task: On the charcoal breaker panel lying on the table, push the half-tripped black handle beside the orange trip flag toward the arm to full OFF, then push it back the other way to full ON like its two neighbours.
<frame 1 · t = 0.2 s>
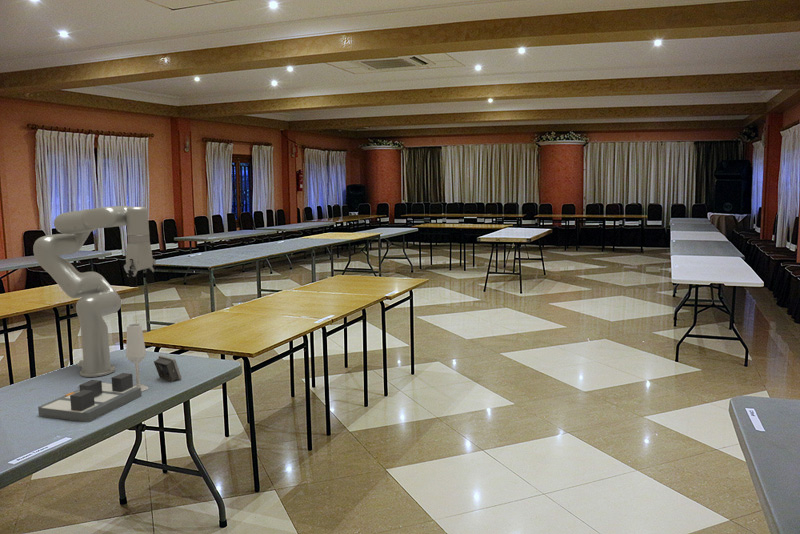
hand: (141, 284, 226), 37 cm above the table, tool pointing down, fingers open, 9 cm apart
tripped breaker handle: (91, 389, 202), point 6 cm above the table, slide at 5.0 cm
electrical switch: (168, 380, 229), on the table
breaker panel: (92, 405, 203), on the table
champagne flute: (138, 389, 219), on the table
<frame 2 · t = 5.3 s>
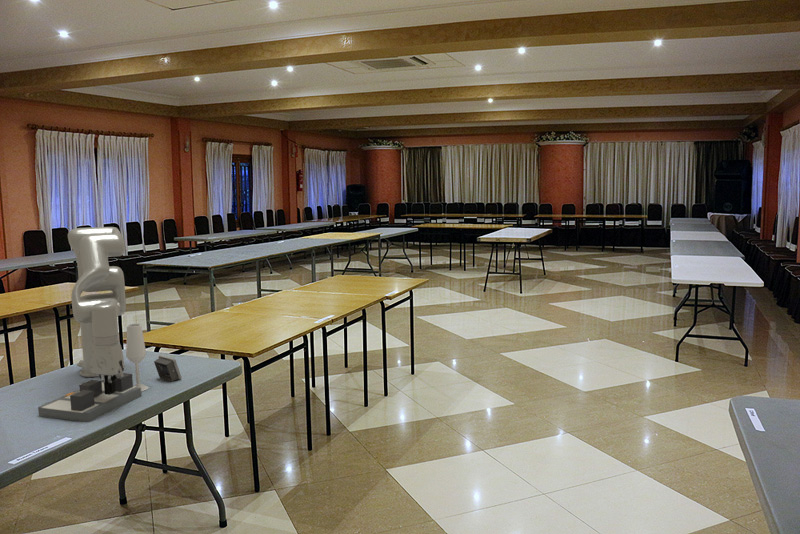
hand: (110, 393, 200), 5 cm above the table, tool pointing down, fingers closed
nothing on the table moved.
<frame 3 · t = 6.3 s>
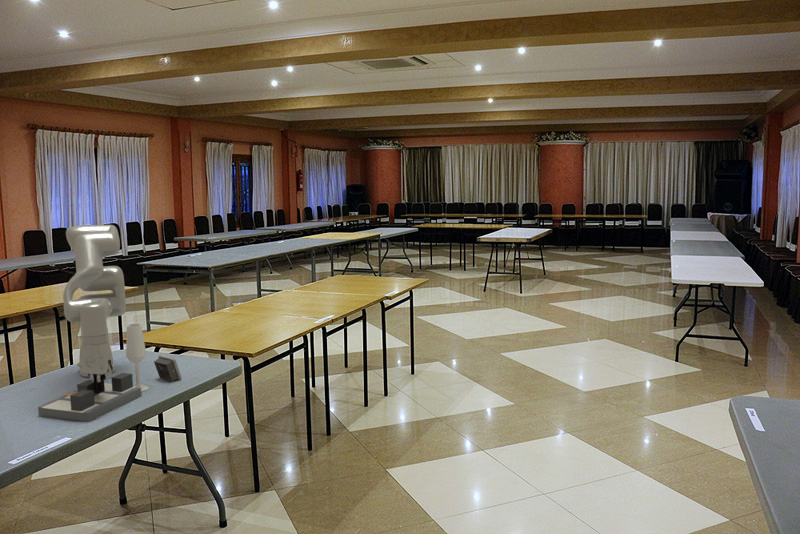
hand: (99, 392, 201), 5 cm above the table, tool pointing down, fingers closed
tripped breaker handle: (88, 388, 202), point 6 cm above the table, slide at 4.1 cm, touching gripper
everything else where it was.
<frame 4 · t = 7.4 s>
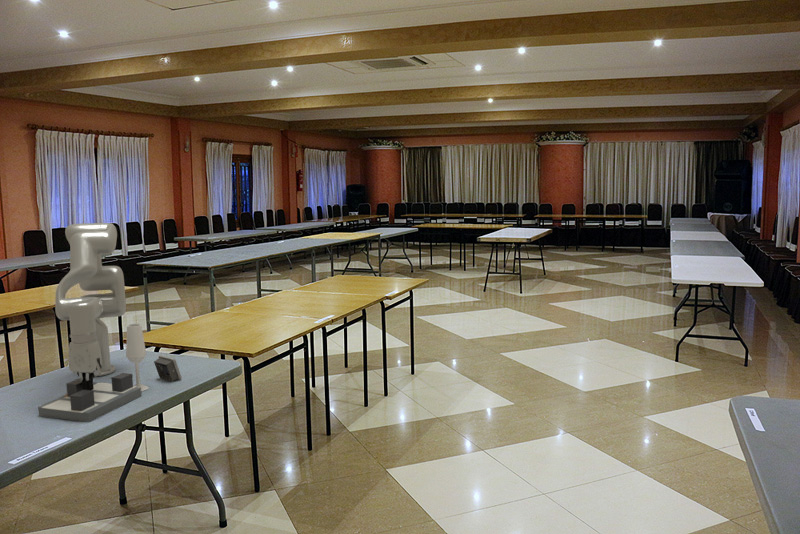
hand: (88, 390, 202), 5 cm above the table, tool pointing down, fingers closed
tripped breaker handle: (78, 387, 203), point 6 cm above the table, slide at -0.3 cm, touching gripper
everything else where it was.
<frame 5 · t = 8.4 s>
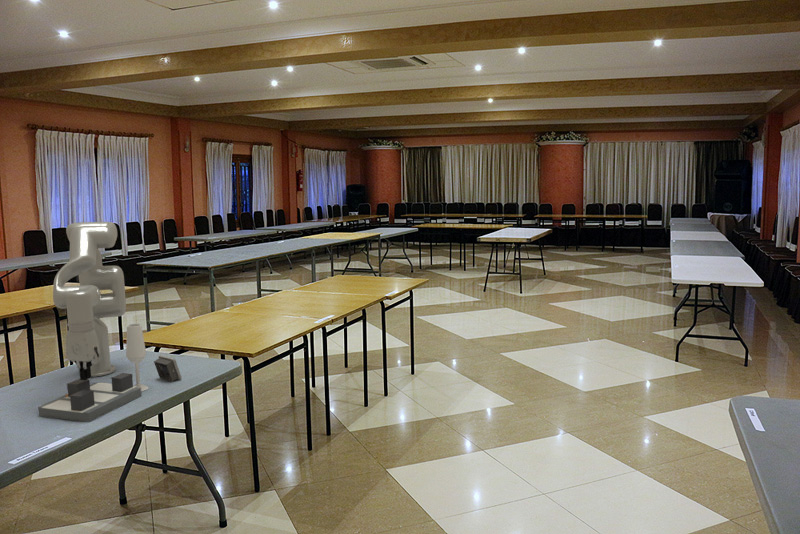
hand: (85, 378, 203), 9 cm above the table, tool pointing down, fingers closed
tripped breaker handle: (78, 387, 203), point 6 cm above the table, slide at -0.1 cm
everything else where it was.
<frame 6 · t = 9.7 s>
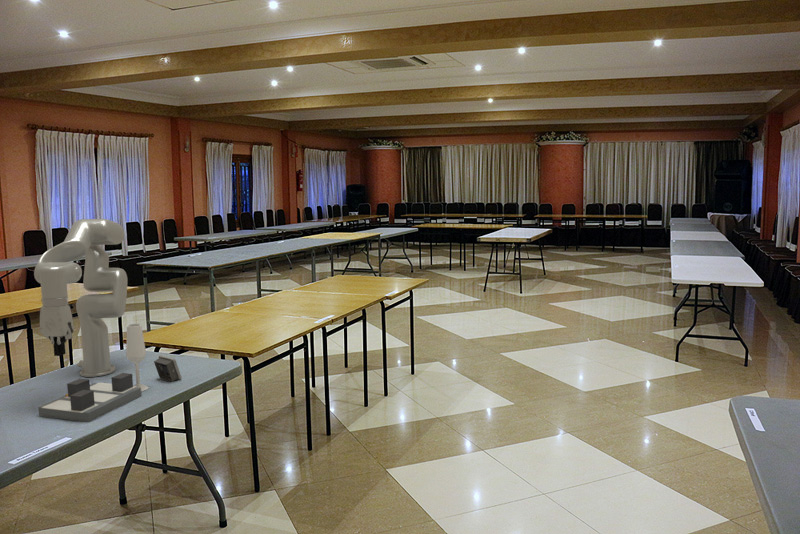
hand: (60, 354, 203), 17 cm above the table, tool pointing down, fingers closed
nothing on the table moved.
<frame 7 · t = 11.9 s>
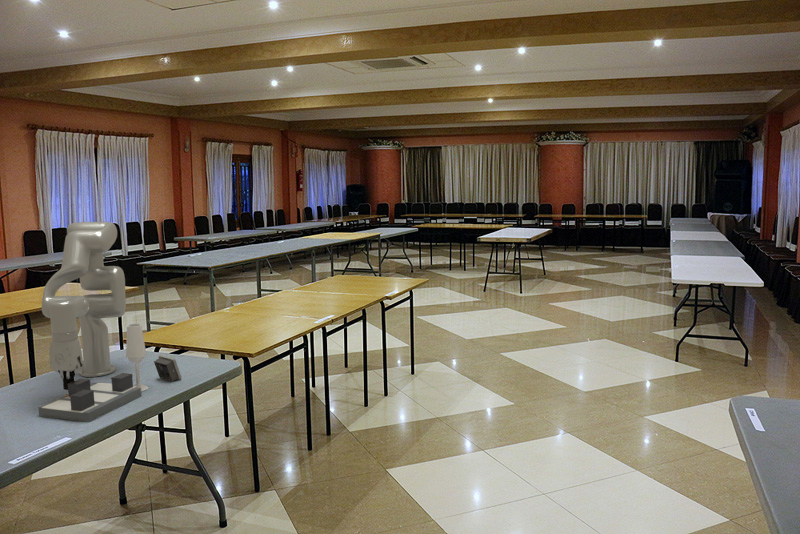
hand: (69, 388, 204), 5 cm above the table, tool pointing down, fingers closed
tripped breaker handle: (79, 387, 203), point 6 cm above the table, slide at 0.2 cm, touching gripper
everything else where it was.
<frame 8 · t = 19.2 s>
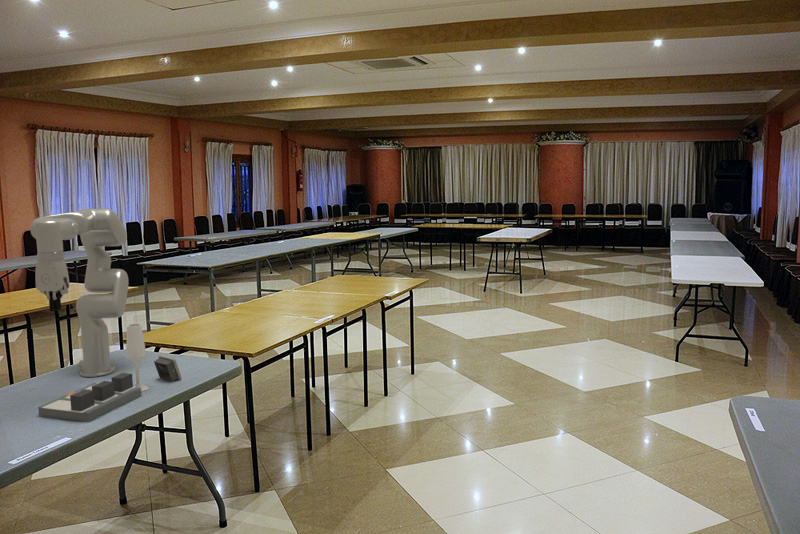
hand: (55, 310, 202), 32 cm above the table, tool pointing down, fingers closed
tripped breaker handle: (103, 390, 200), point 6 cm above the table, slide at 10.1 cm
everything else where it was.
at the end: tripped breaker handle slide at 10.1 cm; the gripper is holding nothing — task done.
